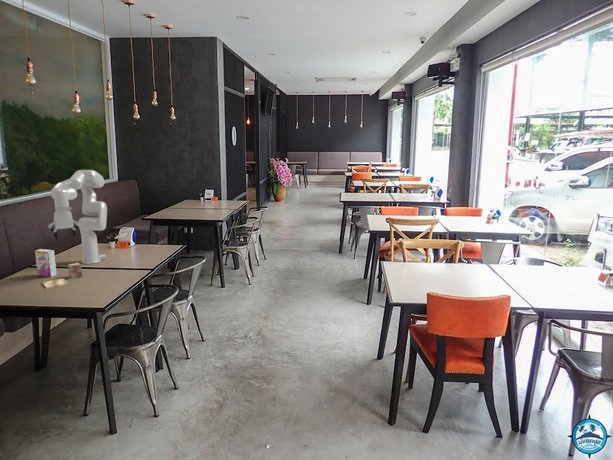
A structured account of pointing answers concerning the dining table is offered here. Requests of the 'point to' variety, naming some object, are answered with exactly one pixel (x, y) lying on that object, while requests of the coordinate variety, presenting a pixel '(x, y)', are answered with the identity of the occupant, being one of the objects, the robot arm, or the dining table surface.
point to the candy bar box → (45, 263)
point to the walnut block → (75, 270)
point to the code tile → (75, 278)
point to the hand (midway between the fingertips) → (65, 237)
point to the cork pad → (55, 283)
